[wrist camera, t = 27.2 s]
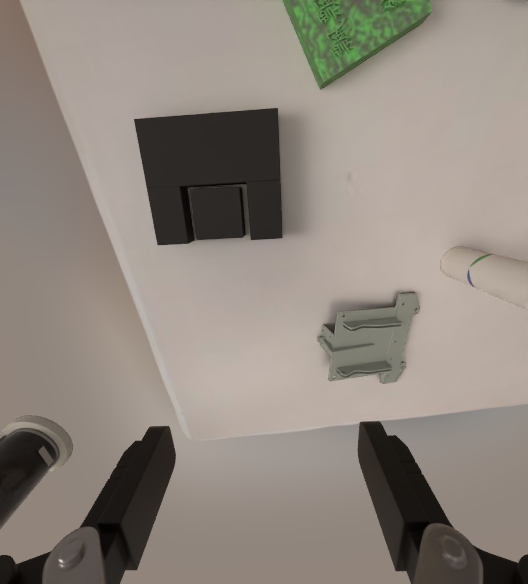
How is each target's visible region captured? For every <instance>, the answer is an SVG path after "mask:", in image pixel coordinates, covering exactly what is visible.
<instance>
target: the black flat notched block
mask: <svg viewBox="0 0 528 584" xmlns="http://www.w3.org/2000/svg"><path fill="white" fill-rule="evenodd" d="M134 121H135V127H136V132H137V137H138V143H139V148H140V153H141V159H142V164H143V169H144V174H145V180H146V185H147V191H148V196H149V201H150V207H151V212H152V217H153V223H154V228H155V233H156V239H157V244H158V245H170V244H188V243H190V242H192V241H194V240H195V239H194V232H193V225H192V218H191V211H190V204H189V197H188V190H187V187H203V186H218V185H233V184H247V195H248V209H249V222H250V236H251V240H259V239H276V238H282V211H281V184H280V156H279V128H278V108H273V109H260V110H247V111H234V112H221V113H208V114H196V115H183V116H170V117H157V118H144V119H134Z"/></svg>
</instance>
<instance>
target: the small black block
mask: <svg viewBox="0 0 528 584" xmlns="http://www.w3.org/2000/svg"><path fill="white" fill-rule="evenodd" d="M190 196H191V203H192V210H193V217H194V224H195V232H196V239H197V240H206V239H224V238H242V237H244V236H245V235H246V233H245V220H244V207H243V195H242V188H241V187H239V186H238V187H222V188H206V189H190Z"/></svg>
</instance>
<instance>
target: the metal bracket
mask: <svg viewBox="0 0 528 584" xmlns="http://www.w3.org/2000/svg"><path fill="white" fill-rule="evenodd" d="M402 303H403V305H402ZM415 308H417V309H416V310H415ZM419 309H420V307H419V302H418V297H417V294H416V293H402V294H399V295H398V297H397V302H396V305H395V307H388V308H376V309H364V310H352V311H340V312H338V313H337V316H336V324H335V331H334V333H332V332H331V331H330V330H329V329H328V328H327V327H326V326H325V325H323V326H322V334H321V336H320V337H319V336H318V337H317V341H318V342H320V341H321V342H320V345H321V347H322V348H323V349H324V350H325V351H326V352H327V353H328V355H329V356H330V357H331V362H330V369H329V377H328V380H329V381H335V380H342V379H348V378H354V377H361V376H367V375H373V374H380V373H381V378H380V383H383V384H386V383H392V382H396V381H397V379H398V378H399V376H400V375H401V373H402V372H403V370H404V369H405V367H406V363H405V362H401V360H402V355H403V351H404V347H405V343H406V338H407V334H408V330H409V325H410V321H411V317H412V315H413V314H417V313H418V312H419ZM342 314H344V316H343V317H342ZM394 341H395V342H394ZM401 366H403V367H402V368H401ZM334 376H336V377H335V378H333V377H334Z"/></svg>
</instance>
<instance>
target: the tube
mask: <svg viewBox="0 0 528 584" xmlns="http://www.w3.org/2000/svg"><path fill="white" fill-rule="evenodd" d="M440 267H441V270H442V272H443V273H444V274H445V275H446V276H449V277H451V278H453V279H456V280H458V281H460V282H463V283H465V284H468V285H470V286H472V287H475V288H477V289H479V290H482V291H484V292H487V293H489V294H491V295H494V296H496V297H498V298H501V299H503V300H505V301H508V302H510V303H513V304H515V305H517V306H520V307H522V308H524V309H527V310H528V262H525V261H521V260H516V259H512V258H508V257H504V256H499V255H495V254H491V253H487V252H482V251H478V250H474V249H470V248H466V247H455V248H452V249H450V250H449V251H447V252H446V253H445V254H444V256H443V257H442V259H441V263H440Z"/></svg>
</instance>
